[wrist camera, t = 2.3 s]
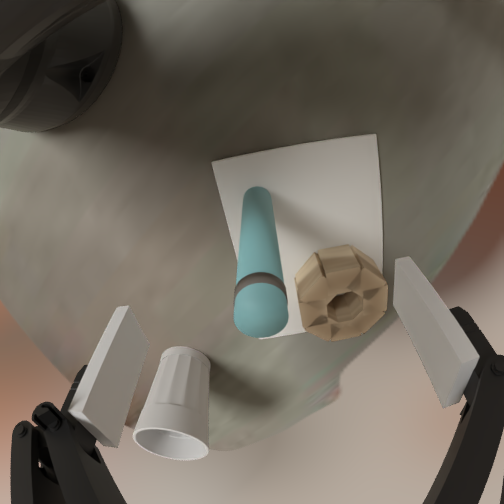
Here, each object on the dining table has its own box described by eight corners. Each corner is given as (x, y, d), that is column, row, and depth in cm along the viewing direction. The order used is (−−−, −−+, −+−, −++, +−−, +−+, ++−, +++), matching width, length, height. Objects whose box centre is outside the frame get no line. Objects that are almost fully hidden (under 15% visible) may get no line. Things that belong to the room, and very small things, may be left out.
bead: (290, 255, 29) (295, 279, 26) (373, 239, 29) (388, 260, 25) (300, 320, 33) (305, 346, 30) (373, 305, 32) (385, 329, 29)
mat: (211, 161, 25) (211, 162, 25) (374, 133, 24) (376, 134, 24) (259, 337, 35) (259, 339, 35) (379, 314, 34) (380, 316, 33)
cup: (207, 338, 35) (195, 428, 25) (223, 380, 39) (217, 461, 29) (145, 343, 36) (119, 425, 25) (167, 383, 40) (151, 458, 29)
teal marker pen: (239, 188, 26) (226, 300, 13) (268, 183, 26) (285, 290, 13) (245, 215, 27) (239, 342, 14) (274, 210, 27) (293, 333, 14)
